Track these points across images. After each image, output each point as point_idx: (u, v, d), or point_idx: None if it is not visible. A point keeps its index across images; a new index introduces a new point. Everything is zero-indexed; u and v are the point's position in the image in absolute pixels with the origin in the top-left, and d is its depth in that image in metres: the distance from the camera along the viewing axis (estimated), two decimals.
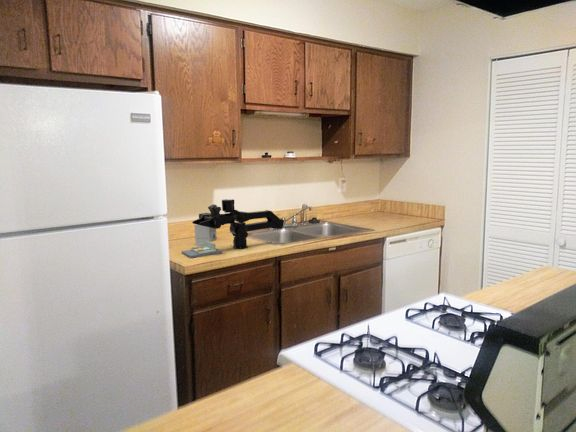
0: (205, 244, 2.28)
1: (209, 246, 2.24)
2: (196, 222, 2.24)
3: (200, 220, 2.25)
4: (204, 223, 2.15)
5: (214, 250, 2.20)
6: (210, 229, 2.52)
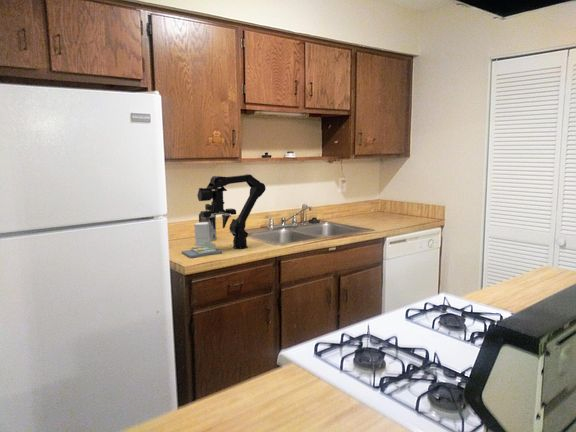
0: (205, 244, 2.28)
1: (209, 246, 2.24)
2: (223, 224, 2.27)
3: (223, 219, 2.28)
4: (212, 224, 2.24)
5: (214, 250, 2.20)
6: (210, 229, 2.52)
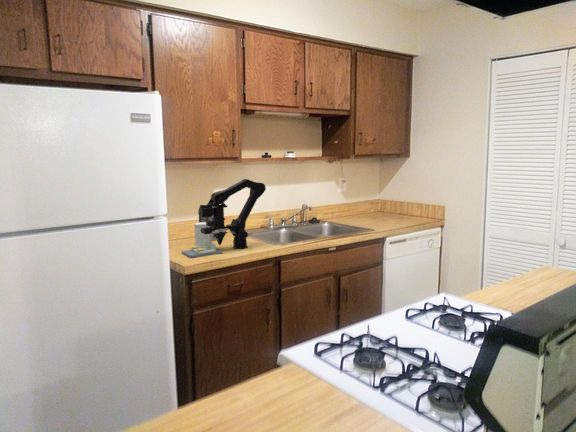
0: (205, 244, 2.28)
1: (209, 246, 2.24)
2: None
3: (219, 236, 2.28)
4: (217, 240, 2.27)
5: (214, 250, 2.20)
6: None
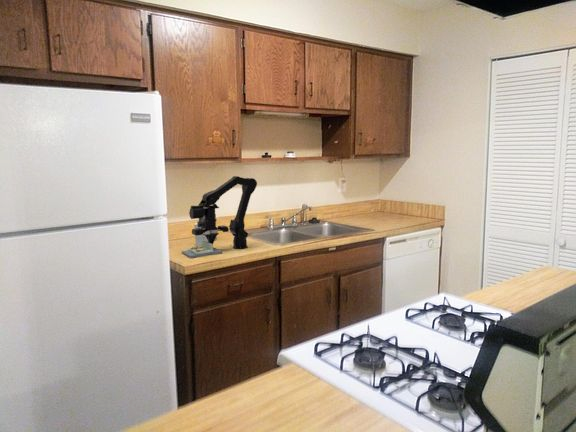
0: (203, 244, 2.27)
1: (206, 246, 2.23)
2: None
3: None
4: (208, 241, 2.24)
5: (211, 250, 2.19)
6: None
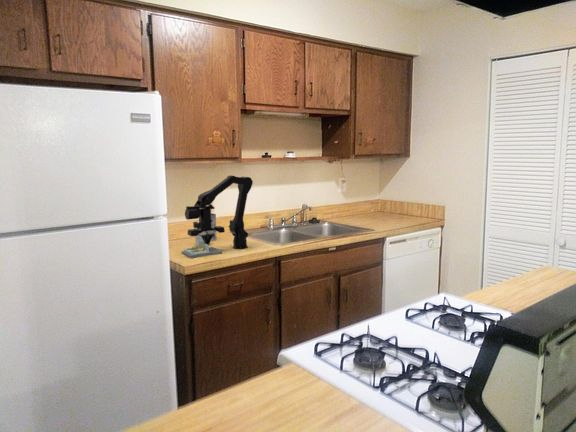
0: (198, 245, 2.26)
1: (202, 247, 2.21)
2: None
3: (207, 238, 2.24)
4: (204, 242, 2.23)
5: (207, 251, 2.18)
6: None
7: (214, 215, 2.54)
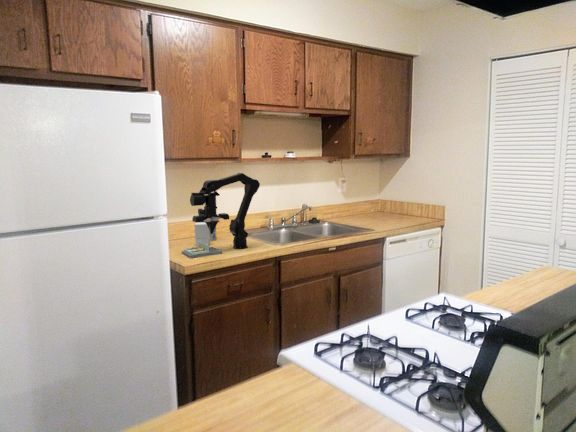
0: (198, 245, 2.26)
1: (202, 247, 2.21)
2: None
3: None
4: (209, 229, 2.23)
5: (207, 251, 2.18)
6: None
7: None
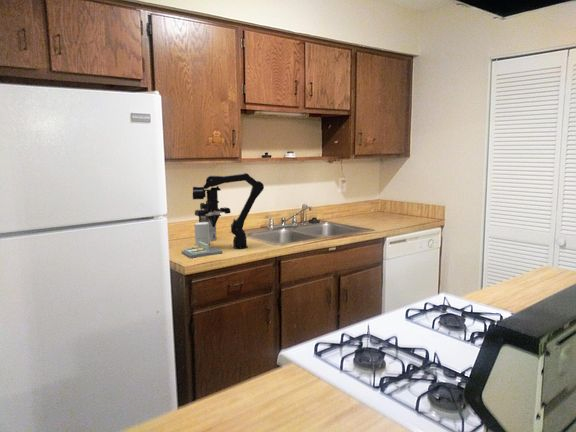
0: (198, 245, 2.26)
1: (202, 247, 2.21)
2: None
3: None
4: (211, 223, 2.30)
5: (207, 251, 2.18)
6: (210, 229, 2.52)
7: None
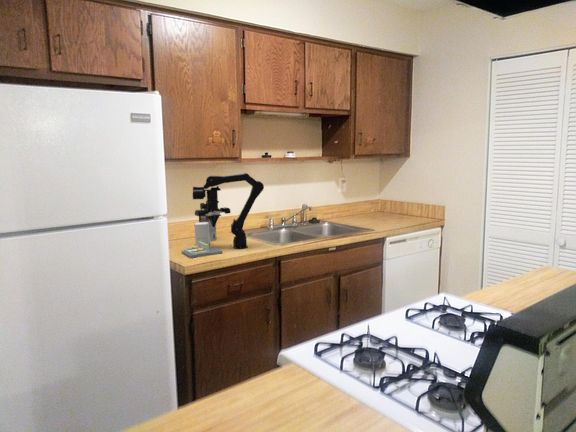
0: (198, 245, 2.26)
1: (202, 247, 2.21)
2: None
3: None
4: (211, 223, 2.30)
5: (207, 251, 2.18)
6: (210, 229, 2.52)
7: None
